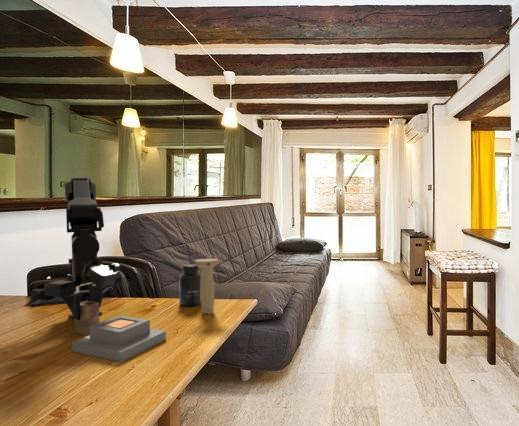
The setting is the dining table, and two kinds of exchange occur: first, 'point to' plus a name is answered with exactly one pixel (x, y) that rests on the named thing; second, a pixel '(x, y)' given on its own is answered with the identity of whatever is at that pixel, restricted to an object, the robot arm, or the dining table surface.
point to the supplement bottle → (189, 286)
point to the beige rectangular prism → (87, 317)
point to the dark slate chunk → (43, 298)
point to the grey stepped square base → (119, 339)
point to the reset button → (120, 324)
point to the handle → (207, 284)
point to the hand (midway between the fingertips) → (86, 316)
